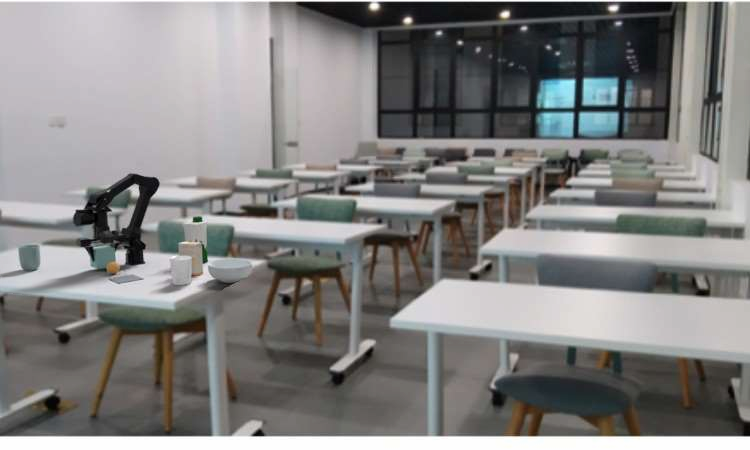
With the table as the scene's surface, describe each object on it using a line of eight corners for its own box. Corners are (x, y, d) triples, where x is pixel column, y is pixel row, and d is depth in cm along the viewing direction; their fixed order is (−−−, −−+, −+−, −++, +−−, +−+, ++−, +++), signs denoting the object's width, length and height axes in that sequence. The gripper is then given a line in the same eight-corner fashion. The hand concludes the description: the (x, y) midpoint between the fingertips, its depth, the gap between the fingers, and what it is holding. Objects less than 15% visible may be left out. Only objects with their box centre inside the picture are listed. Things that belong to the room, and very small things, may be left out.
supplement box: (203, 273, 268) (202, 242, 266) (196, 276, 263) (195, 244, 261) (186, 271, 271) (185, 240, 268) (179, 274, 266) (178, 242, 264)
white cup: (173, 280, 256) (172, 255, 254) (194, 280, 256) (193, 255, 255) (169, 285, 248) (168, 260, 246) (190, 285, 249) (189, 259, 247)
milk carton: (210, 261, 290) (209, 216, 287) (198, 265, 282) (196, 219, 279) (194, 259, 294) (192, 215, 290) (181, 263, 285) (179, 218, 282)
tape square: (132, 274, 265) (132, 274, 265) (143, 279, 258) (143, 278, 258) (108, 278, 258) (108, 278, 258) (118, 283, 251) (118, 283, 251)
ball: (117, 271, 270) (116, 260, 270) (122, 273, 267) (121, 261, 266) (104, 273, 267) (104, 261, 266) (109, 275, 263) (109, 263, 263)
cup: (45, 267, 277) (43, 244, 276) (34, 272, 270) (32, 248, 268) (27, 267, 278) (25, 244, 276) (16, 271, 270) (14, 247, 269)
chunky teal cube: (108, 263, 279) (107, 245, 278) (116, 266, 274) (114, 248, 272) (90, 266, 274) (89, 247, 273) (97, 269, 269) (96, 250, 267)
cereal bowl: (209, 287, 247) (208, 268, 246) (207, 276, 262) (207, 259, 261) (254, 284, 251) (254, 266, 250) (250, 274, 267) (250, 257, 266)
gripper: (84, 228, 259) (87, 267, 261) (130, 223, 271) (132, 260, 274) (74, 225, 267) (77, 262, 269) (119, 220, 279) (122, 256, 282)
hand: (103, 260), depth 273 cm, fingers closed on chunky teal cube, 8 cm apart
